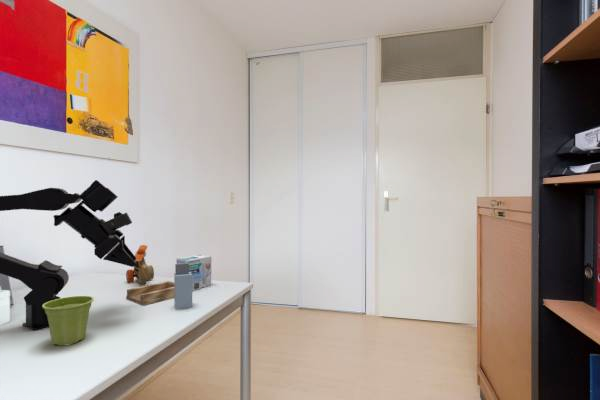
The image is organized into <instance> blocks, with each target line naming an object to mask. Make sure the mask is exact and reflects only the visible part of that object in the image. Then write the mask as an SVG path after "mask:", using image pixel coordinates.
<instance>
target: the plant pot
mask: <svg viewBox="0 0 600 400" xmlns="http://www.w3.org/2000/svg"><path fill="white" fill-rule="evenodd" d="M94 299H95V298H94V296H90V295H75V296H73V295H72V296H65V297H60V299H55V300H52V301H49V302H46V303H44V304H43V305H42V307H43V308H44V309H45V313H46V314H47V317H48V323H49V326H48V327H49V334H50V339H51V344H52V345H58V346H68V345H73V344H77V343H78V342H79V341H82V340H84V339H85V338H86V334H87V328H88V321H89V316H90V315H89V314H90V310H91V307H92V303H93V302H94Z"/></svg>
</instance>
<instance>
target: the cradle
mask: <svg viewBox="0 0 600 400" xmlns="http://www.w3.org/2000/svg"><path fill="white" fill-rule="evenodd" d="M171 298H172V299H174V281H169V280H166V281H162V282H157V283H153V284H152V283H151V284H147V285H142V286H138V287H133V288H129V289H128V288H127V289H126V300H129V301H130V302H133V303H136V304H139V305H142V306H143V307H144V306H147V305H152V304H154V303H160V302H164V301H168V300H171Z"/></svg>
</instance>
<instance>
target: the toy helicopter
mask: <svg viewBox="0 0 600 400" xmlns="http://www.w3.org/2000/svg"><path fill="white" fill-rule="evenodd" d="M147 248H148V246H147V245H145V244H143V245H142V244H141V245H139V247H138V249H137V251H136V252H135V254H134V256H135V257H136V260H135V261H134V262H135V263H136V265H135V266H134V267H133V268H132V269H127V270H126V273H125V277H126V281H127V283H129V284H130V283H133V282H134V281H135V279H136V280H137V281H138V282H139V284H140V285H145V284H147V281H148V280H153V279H154V277H155V271H154V266H153V265H150V264H149V265H148V264H146V263H147V262H146V259H145V257H146V256H147V252H146V251H147Z"/></svg>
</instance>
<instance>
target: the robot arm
mask: <svg viewBox="0 0 600 400" xmlns="http://www.w3.org/2000/svg"><path fill="white" fill-rule="evenodd" d="M116 199H118V196H117V195H116V193H115V192H113V191H112V190H111V189H110V188H108V187H106V186H105V185H104V184H103V183H101V182H100V181H99V180H96V179H95V180H94V181H93V182H92V183H91V184H90V185H89V186H88V187H87V188H86V189H85V190H84V191H82V192H81V193H80V194H79V193H78V192H75V193H69V192H68V191H66V190H65V189H63V188H60V187H49V188H48V187H47V188H42V189H37V190H34V191H29V192H26V193H21V194H12V195H9V194H8V195H0V212H2V211H3V212H5V211H14V210H15V211H16V210H17V211H18V210H33V211H49V212H50V211H51V212H53V211H54V212H55V211H60V210H64V211H63V212H62V213H60V214H55V215H53V216H52V217H53V219H54V220H53V221H54V222H53V226H54V227H57V226H60V225H61V224H63V222H64V223H65V224H66V225H68V226H69V227H70V228H71V229H72V230H74V231H75V232H77V233H78V234H79V235H80V238H82V239H83V240H84V239H85V240H87V241H88V242H89V243H91V244H92V246H93V245H94V246H93V248H94V255H95V256H96V257H97V258H98V259H100V260H104V261H108V262H112V263H118V264H120V265H124V266H126V267H127V266H128V267H131V268H134V266H135V265H136V263H135V262H134V261H135V260H136V257H135V254H134V253H133V252H132V250H131V249H130V248H129V247H128V245H127V244H126V239H125V237H126V236H125V235H124V233H123V232H122V231H121V230H120V229H121V228H122V227H125V226H129V225H131V224H132V223H133V221H132V219H131V217H130V215H129V214H128V212H124V213H122V212H120V211H118V212H116V213H114V214H113V218H110V219H109V220H107V221H106V220H104V219H101V218H98V217H97V216H96V215H95V214H94V213H96V212H97V211H99V212H101V213H102V212H103V211H104V210H105V209H106V208H108V207H109V206H110V205H111V204H112V203H113V202H114V201H115V200H116ZM77 203H78V204H77ZM72 204H77V205H75V206H74V207H73V208H72V207H70V206H69V205H72ZM84 205H85V206H86V207H87V208H88V209H89V210H88V209H87V208H86V207H85V206H84ZM90 210H91V211H90ZM92 212H93V213H92ZM62 267H63V265H58V264H54V263H52V262H50V261H48V260H44V261H43V262H42V261H41V262H40V263H39V264H37V263H36V264H34V263H30V262H28V261H24V260H22V259H19V258H17V257H13V256H12V255H11V256H10V255H8V254H5V253H3V252H0V274H1V275H4V276H7V277H9V278H13V279H14V280H15V279H16V280H19V281H20V282H22V283H23V284H24V285H25V286H26V287H28V288H29V289H31V290H30V291H29V292H28V293H27V294H25V296H24V297H23V299H24V303H25V322H23V323H22V327H26V328H27V329H30V330H33V331H37V330H41V329H44V328H47V327H49V323H48V317H47V314H46V313H45V309H44V308H43V307H42V305H43V304H44V303H46V302H49V301H52V300H55V299H60V298H61V297H60V296H57V295H59V293H60V292H61V291H62V290H63V289H64V287H66V285H67V284H68V282H69V279H70V278H69V273H68V272H67V270H65V269H63V268H62Z"/></svg>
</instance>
